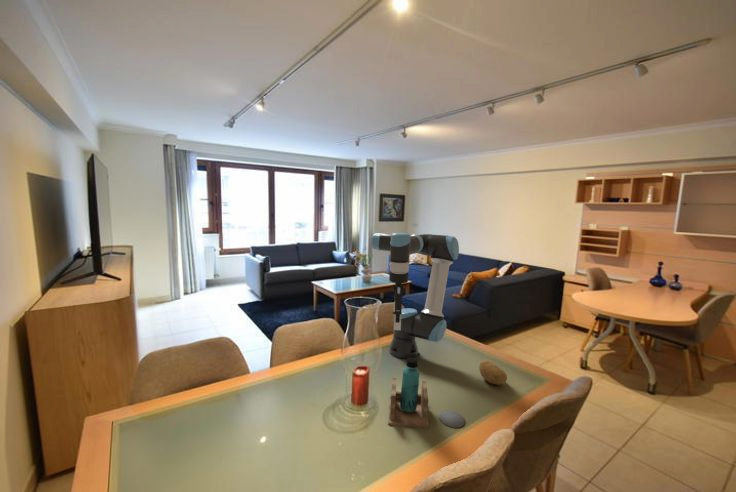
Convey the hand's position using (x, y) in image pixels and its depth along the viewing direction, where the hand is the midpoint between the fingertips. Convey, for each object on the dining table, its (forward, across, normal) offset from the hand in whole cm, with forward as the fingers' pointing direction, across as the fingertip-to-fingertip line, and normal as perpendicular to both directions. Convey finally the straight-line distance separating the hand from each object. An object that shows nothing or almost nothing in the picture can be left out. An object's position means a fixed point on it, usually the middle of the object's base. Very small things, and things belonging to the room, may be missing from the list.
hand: (396, 323), depth 130 cm
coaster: (+29, +16, +21) cm, 40 cm away
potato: (+31, -13, +44) cm, 56 cm away
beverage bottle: (+29, +14, +5) cm, 32 cm away
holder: (+29, +14, +5) cm, 33 cm away
